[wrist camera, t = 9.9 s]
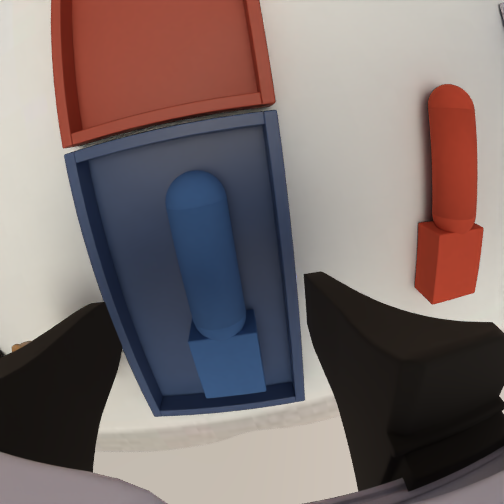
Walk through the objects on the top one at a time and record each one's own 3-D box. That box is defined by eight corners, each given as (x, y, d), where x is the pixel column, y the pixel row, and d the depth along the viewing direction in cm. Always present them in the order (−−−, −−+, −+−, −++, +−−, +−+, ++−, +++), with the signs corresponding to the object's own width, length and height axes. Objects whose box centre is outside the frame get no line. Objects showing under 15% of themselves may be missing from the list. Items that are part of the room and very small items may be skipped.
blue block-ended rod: (158, 174, 15) (144, 183, 13) (230, 161, 15) (230, 167, 13) (207, 372, 20) (205, 403, 17) (263, 365, 20) (267, 396, 17)
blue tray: (271, 112, 15) (276, 109, 13) (299, 380, 21) (305, 400, 19) (80, 151, 15) (63, 154, 13) (158, 396, 21) (154, 416, 19)
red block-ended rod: (410, 84, 15) (437, 79, 12) (457, 88, 15) (486, 86, 12) (414, 287, 19) (435, 308, 17) (455, 277, 19) (478, 295, 17)
